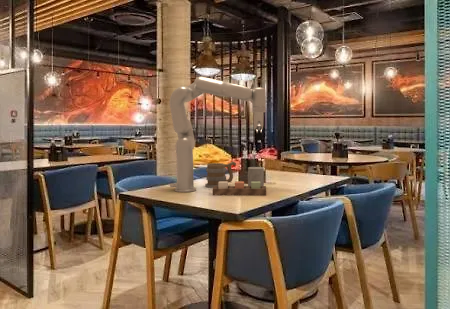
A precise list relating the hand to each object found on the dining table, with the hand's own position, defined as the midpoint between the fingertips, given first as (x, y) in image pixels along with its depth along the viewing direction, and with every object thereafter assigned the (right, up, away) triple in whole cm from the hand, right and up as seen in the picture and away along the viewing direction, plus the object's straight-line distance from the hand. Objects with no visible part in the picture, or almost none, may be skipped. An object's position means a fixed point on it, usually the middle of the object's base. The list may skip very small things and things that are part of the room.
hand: (259, 139), depth 234 cm
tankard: (-21, -28, +20) cm, 41 cm away
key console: (-11, -30, -7) cm, 33 cm away
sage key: (-2, -28, -8) cm, 29 cm away
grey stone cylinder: (-1, -29, +10) cm, 31 cm away
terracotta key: (-11, -28, -7) cm, 31 cm away
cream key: (-20, -28, -6) cm, 35 cm away
